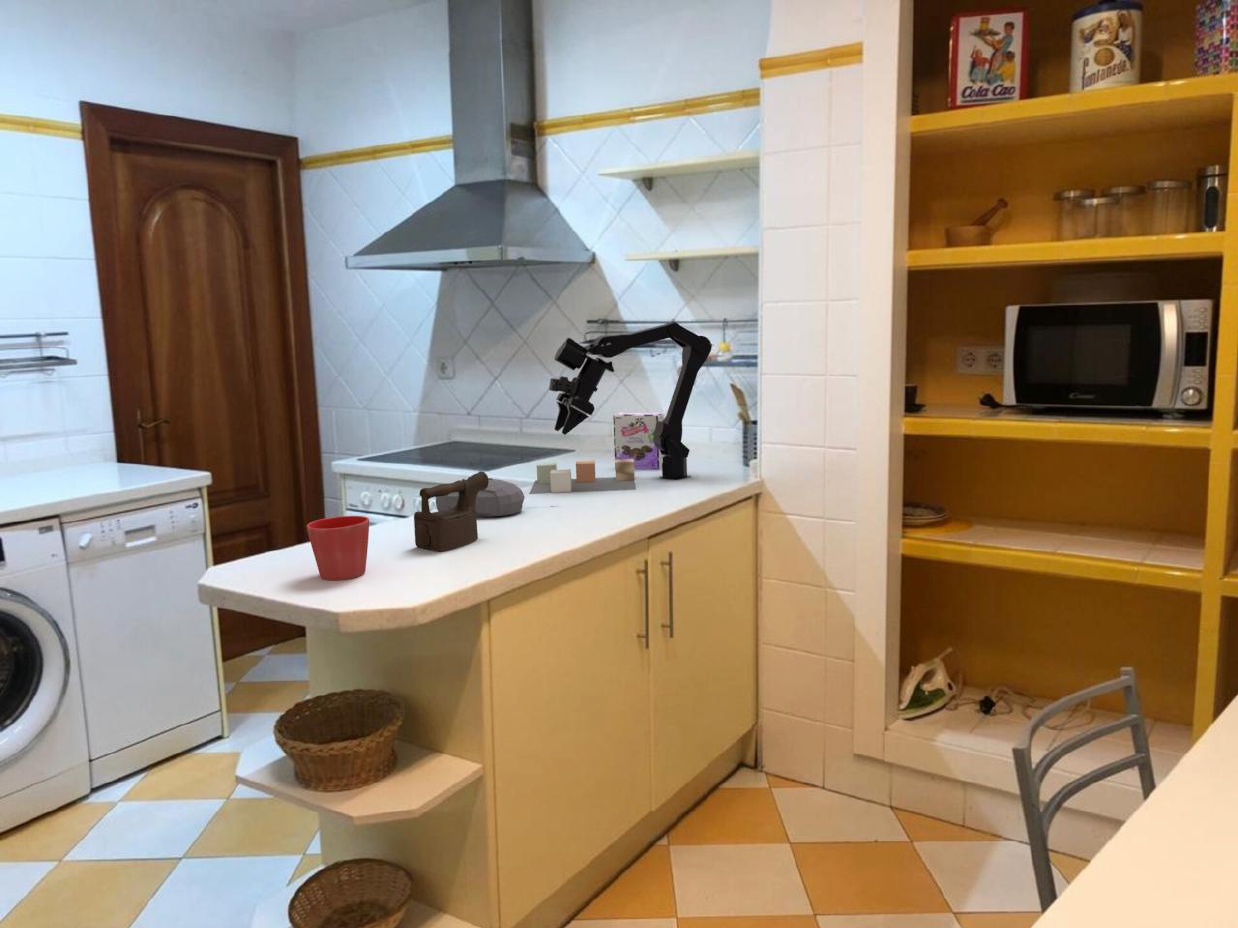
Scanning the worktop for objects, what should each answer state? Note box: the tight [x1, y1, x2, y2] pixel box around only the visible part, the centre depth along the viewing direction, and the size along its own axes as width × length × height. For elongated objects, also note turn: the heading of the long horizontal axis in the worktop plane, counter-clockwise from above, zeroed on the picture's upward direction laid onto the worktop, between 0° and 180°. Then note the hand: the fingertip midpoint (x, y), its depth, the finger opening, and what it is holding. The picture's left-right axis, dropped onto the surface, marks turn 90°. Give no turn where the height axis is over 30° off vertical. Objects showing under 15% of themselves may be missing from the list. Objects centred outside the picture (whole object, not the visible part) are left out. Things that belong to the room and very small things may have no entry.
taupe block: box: [550, 468, 572, 494], centre depth 245 cm, size 5×5×5 cm
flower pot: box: [306, 515, 370, 581], centre depth 170 cm, size 11×11×10 cm
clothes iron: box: [413, 470, 489, 553], centre depth 191 cm, size 8×16×13 cm, turn 138°
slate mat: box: [528, 476, 637, 495], centre depth 252 cm, size 27×21×1 cm
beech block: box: [614, 459, 636, 481], centre depth 259 cm, size 5×5×5 cm
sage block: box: [536, 461, 558, 484], centre depth 258 cm, size 5×5×5 cm
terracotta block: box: [575, 460, 597, 483], centre depth 258 cm, size 5×5×5 cm
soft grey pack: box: [435, 476, 525, 518], centre depth 222 cm, size 15×8×20 cm
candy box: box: [613, 412, 665, 471], centre depth 277 cm, size 14×6×16 cm, turn 68°
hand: (559, 432), depth 249 cm, fingers open, 9 cm apart
